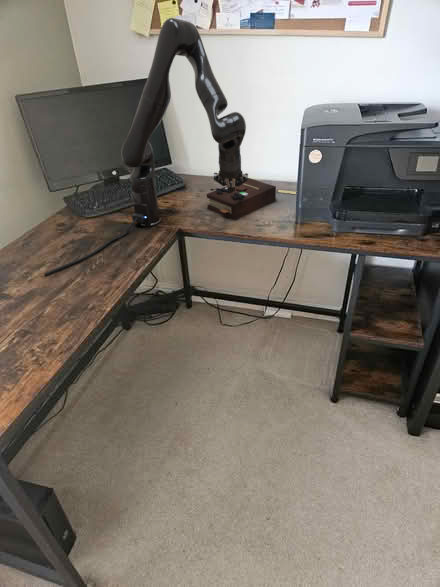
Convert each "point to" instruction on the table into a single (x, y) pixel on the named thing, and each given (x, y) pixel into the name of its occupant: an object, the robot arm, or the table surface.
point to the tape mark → (287, 192)
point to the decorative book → (241, 198)
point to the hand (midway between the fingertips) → (231, 190)
